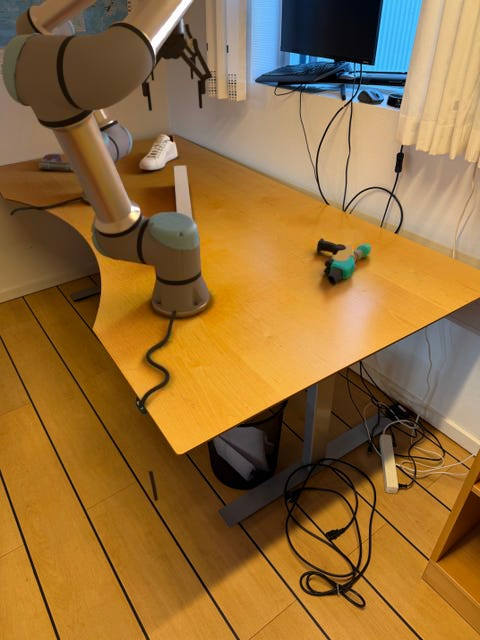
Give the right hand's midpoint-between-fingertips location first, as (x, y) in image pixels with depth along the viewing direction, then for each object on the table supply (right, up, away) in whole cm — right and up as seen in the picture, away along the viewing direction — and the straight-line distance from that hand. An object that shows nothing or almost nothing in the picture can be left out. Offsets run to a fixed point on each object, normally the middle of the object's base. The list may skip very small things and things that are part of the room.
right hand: (175, 108), depth 129 cm
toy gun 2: (+45, -42, +11) cm, 63 cm away
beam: (-3, -20, +42) cm, 47 cm away
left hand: (-6, +26, +36) cm, 46 cm away
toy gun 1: (-64, +12, +87) cm, 109 cm away
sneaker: (-20, +14, +89) cm, 92 cm away
